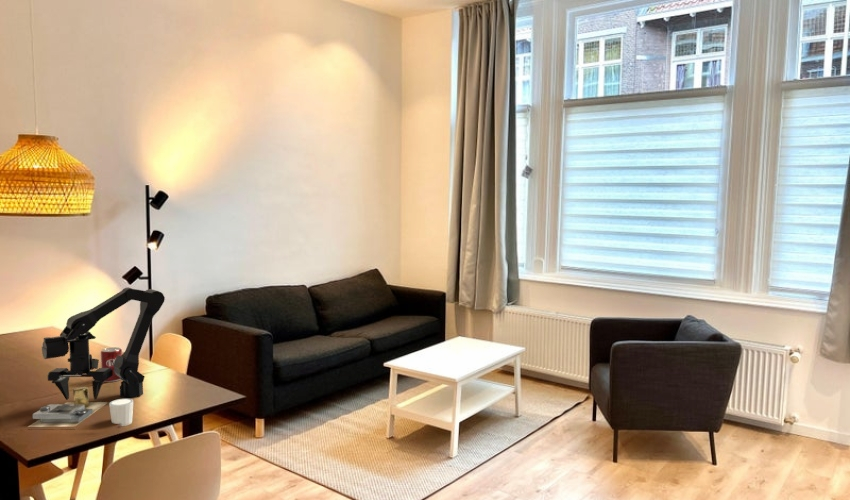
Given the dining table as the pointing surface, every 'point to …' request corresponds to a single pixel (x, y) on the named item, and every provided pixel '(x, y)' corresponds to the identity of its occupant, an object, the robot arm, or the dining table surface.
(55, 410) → the square frame with knobs
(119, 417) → the white short tapered cylinder
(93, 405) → the board
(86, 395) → the pin
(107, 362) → the soda can
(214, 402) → the dining table surface
